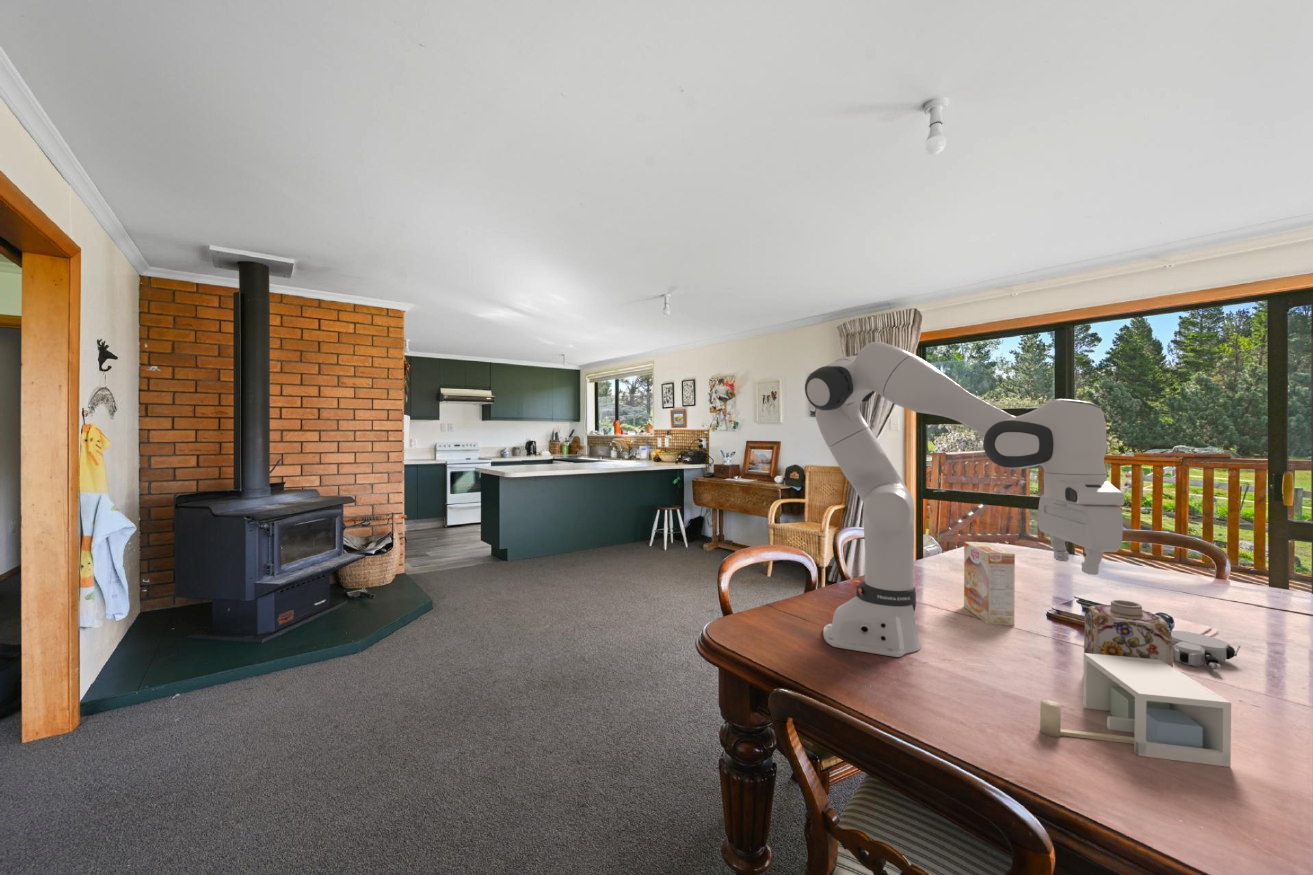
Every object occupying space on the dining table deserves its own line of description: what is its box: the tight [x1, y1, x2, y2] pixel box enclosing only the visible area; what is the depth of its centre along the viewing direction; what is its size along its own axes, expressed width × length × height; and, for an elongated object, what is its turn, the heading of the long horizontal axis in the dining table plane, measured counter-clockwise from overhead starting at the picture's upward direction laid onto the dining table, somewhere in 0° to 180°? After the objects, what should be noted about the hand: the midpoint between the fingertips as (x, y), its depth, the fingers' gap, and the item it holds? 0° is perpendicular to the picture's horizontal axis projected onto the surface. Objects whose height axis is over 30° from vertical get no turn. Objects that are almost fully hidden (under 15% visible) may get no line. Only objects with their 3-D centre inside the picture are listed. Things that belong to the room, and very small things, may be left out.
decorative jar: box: [1083, 599, 1174, 668], centre depth 105 cm, size 12×12×18 cm
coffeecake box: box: [963, 541, 1016, 627], centre depth 149 cm, size 15×7×20 cm, turn 172°
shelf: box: [1082, 652, 1232, 768], centre depth 91 cm, size 12×16×10 cm
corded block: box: [1039, 699, 1203, 748], centre depth 89 cm, size 21×5×5 cm, turn 76°
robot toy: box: [1168, 628, 1241, 669], centre depth 121 cm, size 12×4×15 cm
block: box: [1110, 687, 1169, 719], centre depth 94 cm, size 6×5×5 cm
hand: (1074, 566), depth 94 cm, fingers open, 8 cm apart
